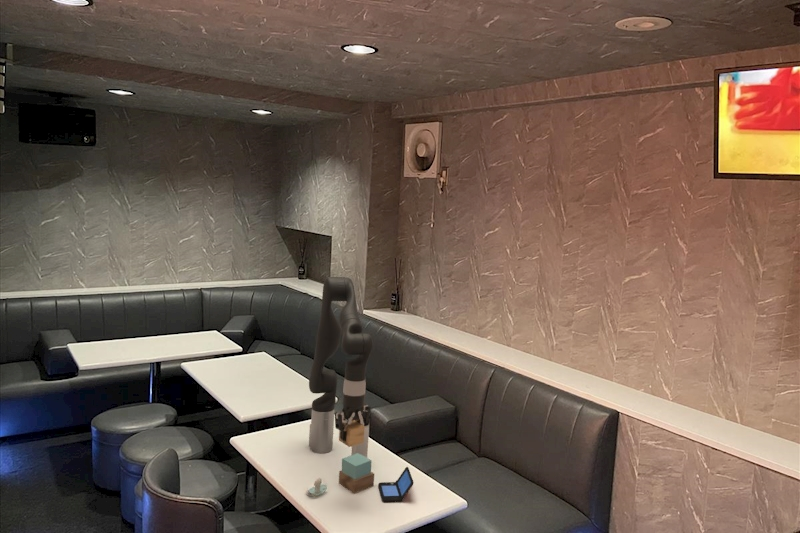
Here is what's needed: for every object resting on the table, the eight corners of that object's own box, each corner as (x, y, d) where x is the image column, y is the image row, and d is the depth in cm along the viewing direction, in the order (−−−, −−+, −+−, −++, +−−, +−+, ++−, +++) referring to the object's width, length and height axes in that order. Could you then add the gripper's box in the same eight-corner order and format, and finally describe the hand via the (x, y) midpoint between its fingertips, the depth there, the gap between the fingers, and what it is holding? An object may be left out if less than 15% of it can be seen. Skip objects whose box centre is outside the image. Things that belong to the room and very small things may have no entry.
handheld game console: (377, 485, 205) (378, 466, 204) (406, 484, 207) (407, 465, 206) (381, 503, 193) (383, 483, 192) (412, 502, 195) (414, 482, 194)
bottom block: (338, 484, 204) (339, 471, 204) (357, 476, 210) (358, 464, 210) (354, 494, 198) (355, 480, 197) (373, 486, 204) (374, 473, 203)
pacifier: (301, 494, 196) (312, 500, 192) (302, 477, 195) (313, 483, 191) (318, 487, 201) (329, 493, 197) (318, 470, 201) (329, 476, 197)
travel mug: (365, 469, 216) (368, 419, 214) (348, 466, 218) (351, 417, 215) (369, 462, 222) (372, 413, 220) (353, 459, 224) (356, 411, 221)
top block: (341, 471, 203) (342, 458, 203) (357, 465, 209) (357, 452, 208) (355, 479, 198) (355, 466, 198) (370, 473, 203) (371, 460, 203)
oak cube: (338, 440, 192) (339, 423, 192) (352, 436, 196) (353, 419, 196) (349, 447, 188) (350, 430, 187) (363, 442, 192) (364, 425, 191)
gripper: (363, 384, 198) (360, 429, 200) (330, 391, 188) (327, 439, 190) (377, 390, 192) (374, 437, 194) (343, 398, 182) (340, 447, 185)
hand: (351, 437), depth 192 cm, fingers closed on oak cube, 6 cm apart
